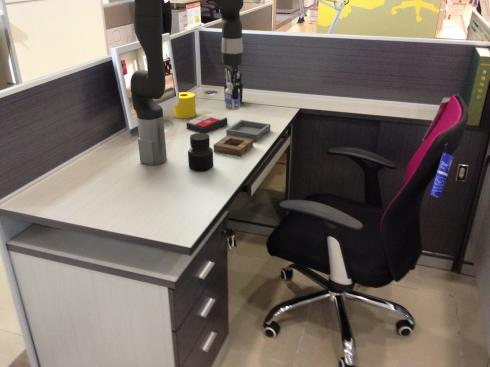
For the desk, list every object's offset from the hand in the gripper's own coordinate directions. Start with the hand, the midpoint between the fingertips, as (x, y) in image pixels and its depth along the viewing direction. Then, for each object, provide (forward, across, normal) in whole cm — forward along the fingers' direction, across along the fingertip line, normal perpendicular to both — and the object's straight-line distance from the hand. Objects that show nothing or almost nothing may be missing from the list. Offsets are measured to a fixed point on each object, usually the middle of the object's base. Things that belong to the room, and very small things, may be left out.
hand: (232, 96), depth 176 cm
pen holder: (+21, -59, +19) cm, 65 cm away
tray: (+21, -14, +12) cm, 28 cm away
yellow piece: (+21, -48, -8) cm, 53 cm away
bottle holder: (+21, 0, 0) cm, 21 cm away
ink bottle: (+22, +12, -16) cm, 29 cm away
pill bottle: (+5, 0, 0) cm, 5 cm away
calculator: (+22, -28, -3) cm, 36 cm away
